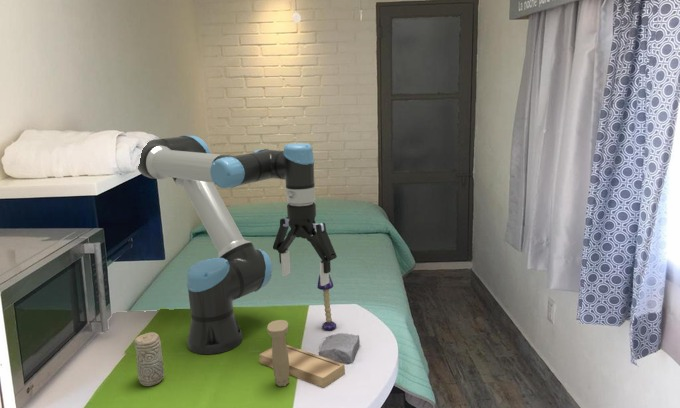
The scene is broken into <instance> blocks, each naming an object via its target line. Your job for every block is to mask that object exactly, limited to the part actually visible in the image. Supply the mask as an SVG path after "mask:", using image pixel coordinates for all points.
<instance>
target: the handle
mask: <svg viewBox="0 0 680 408" xmlns="http://www.w3.org/2000/svg"><path fill="white" fill-rule="evenodd" d="M266 330H267V331H266V332H267V333H268V335H269V336H271V348H272V361H273V368H272V371H273V375H274V381H275V385H277V386H278V387H286V386H287V385H289V383H290V375H289V358H288V351H287V345H288V344H287V337H286V336H287V335H286V334H287V333H289V322H288V321H287V320H283V319H276V320H272V321H271V322H269V323H268V324H267V329H266Z"/></svg>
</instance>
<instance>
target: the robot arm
mask: <svg viewBox="0 0 680 408" xmlns="http://www.w3.org/2000/svg"><path fill="white" fill-rule="evenodd" d="M148 141H149V142H148ZM148 141H147V142H148V143H147V145H146V146H145V147H144V148H143V150H142V153H141V158H140V164H139V166H138V168H137V170H138V171H139V172H140V174H141V175H142V176H144V177H147V178H149V179H154V180H155V179H157V180H165V179H167V178H172V179H173V182H174V183H175V185H176V186H179V187H182V188H183V189H184V191H185V193H186V195H187V197H188V198H189V201H190V202H191V204H192V206H193V208H194V211H195V212H196V214H197V216H198V217H199V219H200V221H201V223H202V225H203V227H204V230H206V232H207V234H208V236H209V238H210V240H211V243H212V244H213V246H214V247H215V249H216V251H217V253H218V255H217V257H212V258H209V259H207V258H206V259H203V260H200V261H197V262H196V263H194V264H193V265H191V267H189V269H188V270H187V273H186V279H187V280H186V282H187V283H186V287H187V290H188V291H187V292H188V299H189V301H188V302H189V309H190V319H191V320H190V321H191V322H190V326H189V331H188V336H187V347H188V350H189V351H190V352H192V353H195V354H198V355H213V354H214V355H215V354H220V353H224V352H228V351H230V350H233V349H234V348H237V346H239V345H240V344H241V343H242V341H243V331H242V329H241V327H240V325H239V322H238V320H237V319H236V316H235V313H234V305H233V304H234V302H233V301H235V300H238V299H240V298H242V297H245V296H247V295H250V294H252V293H254V292H258V291H259V290H260V289H262V288H264V287H266V286H267V285H268V284H269V283H270V281H271V279H272V276H273V275H272V273H273V265H272V260H271V258H270V257H269V255H268V253H267V252H266V251H264V250H263V249H259V248H258V249H257V248H255V246H254V244H253V243H252V241H249V240H246V239H245V238H244V236H243V235H242V233H241V232H240V230H239V228H238V226H237V224H236V222H235V219H234V218H233V217H232V215H231V213H230V211H229V210H228V207H227V205H226V204H225V202H224V200H223V198H222V196H221V195H220V192H219V191H218V189H217V187H218V188H220V189H227V188H228V189H229V188H231V189H232V188H237V187H238V186H239V187H240V186H242V185H243V186H244V185H247V184H251V183H256V182H261V181H262V182H263V181H266V180H270V179H277V180H285V189H286V190H285V191H286V194H285V195H286V202H287V203H288V204H286V208H287V209H286V211H287V212H286V213H287V217H283V218H280V219H279V226H278V227H279V228H278V230H277V234H276V237H275V239H274V242H273V245H272V249H273V250H274V251H275V250H276V251H277V252H278V254H279V258H278V259H279V264H280V265H281V277H286V276H289V275H291V260H290V259H291V258H290V251H289V247H290V246H291V245H292V243H293V242H294V240H296V238H301V239H304V240H305V239H306V240H307V241H308V242H309V243H310V244H311V246H312V247H313V250H315V252H316V253H317V255H318V256H319V258H320V261H319V275H320V283H321V286H324V285H326V284H328V283H329V274H330V273H331V261H333V260H335V259H337V254H336V251H335V248H334V247H333V244H332V242H331V239H330V237H329V235H328V232H327V226H326V224H325V222H320V223H316V221H315V219H316V216H317V207H316V206H317V205H316V203H315V202H316V188H315V187H316V186H315V158H314V151H313V147H312V144H310V143H303V142H302V143H301V142H300V143H297V142H296V143H295V142H294V143H288V144H285V145H284V147H283V150H274V149H269V148H265V149H256V150H254V151H253V152H250V153H246V154H240V155H239V154H237V155H229V154H218V153H211V151H210V148H209V146H208V145H207V143H206V142H205V141H204V140H203V139H202V138H201V137H199V136H196V135H186V134H185V135H180V136H176V137H175V136H174V137H167V138H157V139H156V138H155V139H151V140H148ZM215 185H216V186H217V187H216V186H215ZM289 228H290V230H289ZM288 230H289V231H288Z"/></svg>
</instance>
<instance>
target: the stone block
mask: <svg viewBox="0 0 680 408" xmlns="http://www.w3.org/2000/svg"><path fill="white" fill-rule="evenodd" d="M360 342H361V341H360V335H359V334H357V335H355V334H352V333H348V332H347V333H343V332H341V333H340V332H338V333H335V334H331V335H328V336H326V337H325V339H324V340H323V341H322V343H321V344H320V346H319V349H318V355H319V356H322V357H325V358H328V359H331V360H333V361H336V362H339V363H342V364H352V363H353V362H354V360H355V357H356V354H357V352H358V350H359V347H360V344H361V343H360Z"/></svg>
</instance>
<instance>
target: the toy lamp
mask: <svg viewBox="0 0 680 408" xmlns="http://www.w3.org/2000/svg"><path fill="white" fill-rule="evenodd" d="M318 275H319V276H318V279H317V285H316V286H317V289H318V290H321V291H322V292H323V293H322V296H323V305H324V312H325V313H324V314H325V321H324V323H322V327H321V329H322V330H323V331H326V332H328V331H329V332H330V331H335V330H336V329H337V324H336V322H334V321H333V319H332V312H331V311H332V310H331V309H332V308H331V303H330V293H329V291H330V290H331V289H333V287H334V282H333V280H332V277H331V274H330V273H329V283H328V284H326V285H324V286H321V283H320V274H318Z"/></svg>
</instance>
